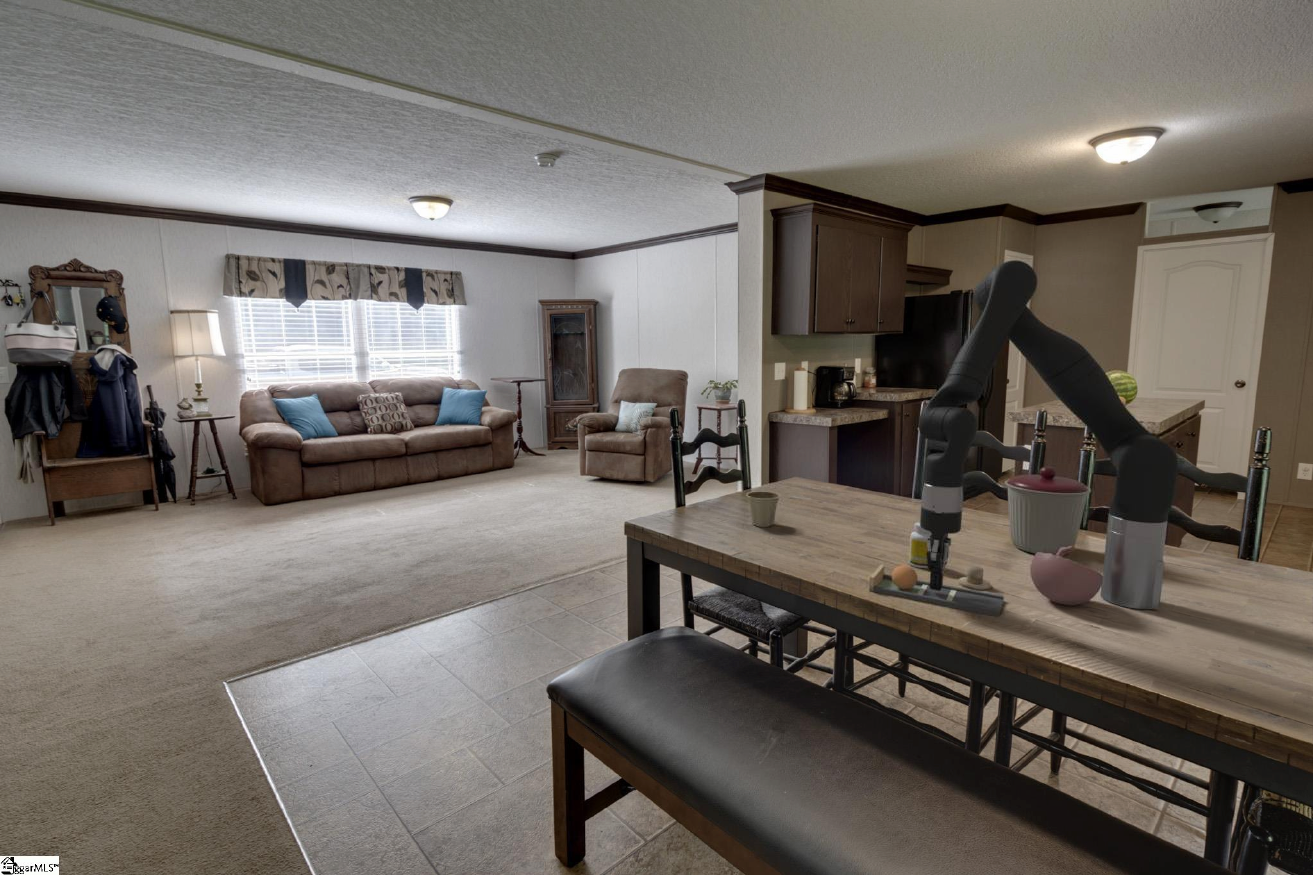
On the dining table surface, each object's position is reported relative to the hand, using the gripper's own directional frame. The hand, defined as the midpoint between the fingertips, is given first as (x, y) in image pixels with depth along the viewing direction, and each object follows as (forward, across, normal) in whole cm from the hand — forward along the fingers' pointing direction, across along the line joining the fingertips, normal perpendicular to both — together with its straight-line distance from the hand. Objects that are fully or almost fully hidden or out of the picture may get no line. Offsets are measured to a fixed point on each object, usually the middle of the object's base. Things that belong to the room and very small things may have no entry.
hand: (935, 588), depth 130 cm
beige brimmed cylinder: (+2, -11, +6) cm, 13 cm away
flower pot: (+2, -30, -51) cm, 59 cm away
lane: (+2, 0, 0) cm, 2 cm away
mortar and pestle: (+2, -10, +22) cm, 24 cm away
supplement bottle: (+2, -18, -6) cm, 19 cm away
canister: (+2, -46, +17) cm, 49 cm away
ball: (-1, 0, -6) cm, 6 cm away
